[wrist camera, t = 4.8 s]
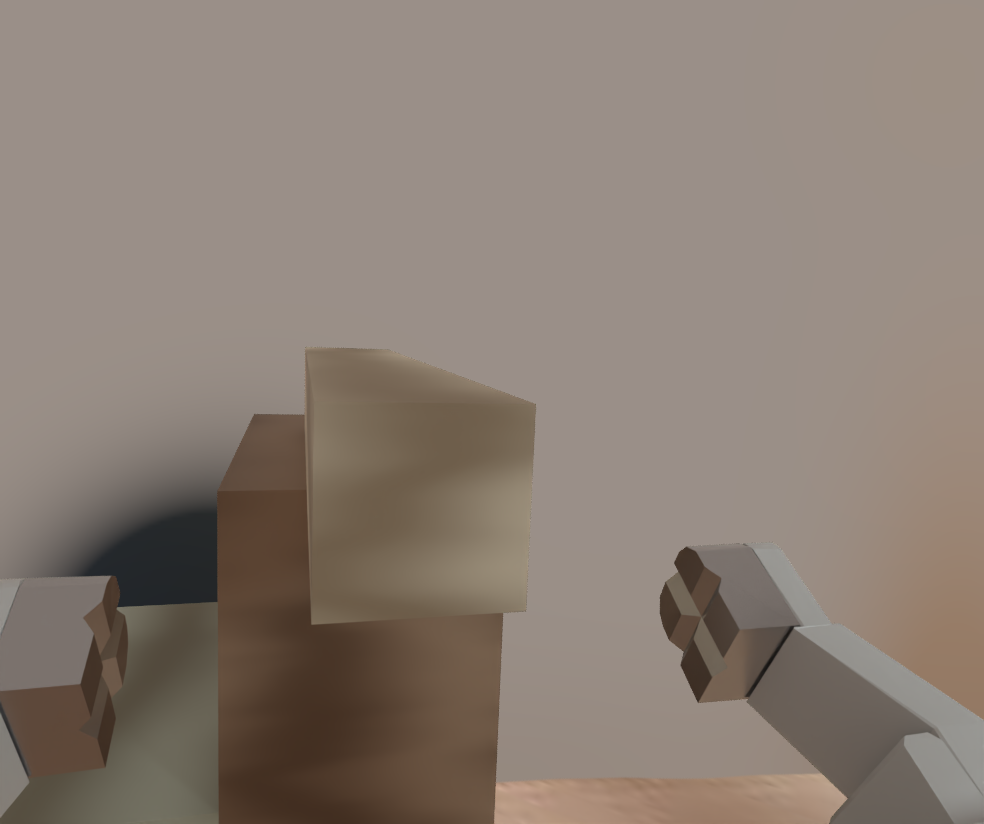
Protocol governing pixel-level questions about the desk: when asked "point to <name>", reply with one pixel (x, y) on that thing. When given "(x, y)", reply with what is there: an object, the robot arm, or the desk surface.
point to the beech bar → (413, 489)
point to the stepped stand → (287, 691)
